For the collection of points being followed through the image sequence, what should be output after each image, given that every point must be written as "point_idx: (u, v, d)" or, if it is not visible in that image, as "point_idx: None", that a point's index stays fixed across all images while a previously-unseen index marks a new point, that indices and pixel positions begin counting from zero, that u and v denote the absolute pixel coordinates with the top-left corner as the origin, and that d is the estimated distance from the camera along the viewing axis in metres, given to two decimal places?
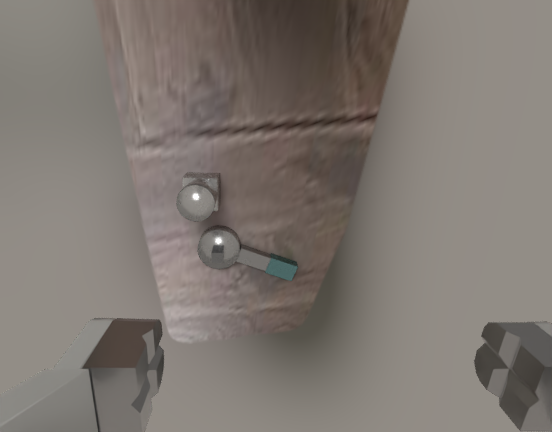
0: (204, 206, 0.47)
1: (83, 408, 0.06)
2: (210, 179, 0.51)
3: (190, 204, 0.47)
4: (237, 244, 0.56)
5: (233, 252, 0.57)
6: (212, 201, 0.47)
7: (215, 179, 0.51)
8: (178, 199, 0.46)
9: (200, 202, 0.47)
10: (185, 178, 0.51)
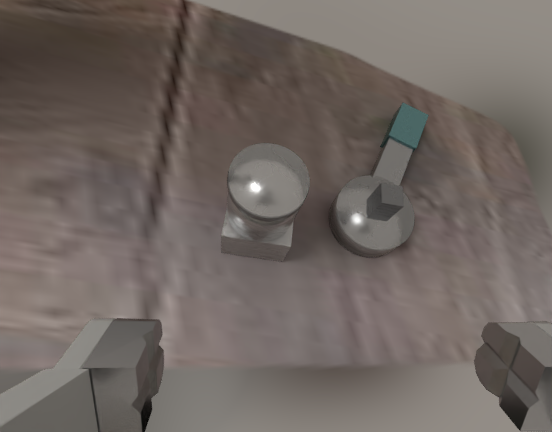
0: (277, 162, 0.22)
1: (83, 408, 0.06)
2: None
3: (270, 186, 0.21)
4: (364, 177, 0.30)
5: None
6: (268, 145, 0.22)
7: None
8: (255, 207, 0.20)
9: (267, 167, 0.22)
10: (224, 230, 0.25)
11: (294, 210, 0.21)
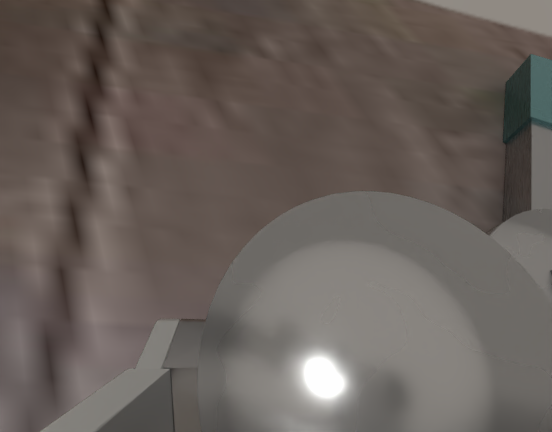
0: (406, 272, 0.05)
1: (164, 407, 0.06)
2: None
3: (414, 422, 0.04)
4: (525, 216, 0.13)
5: None
6: (350, 202, 0.05)
7: None
8: None
9: (374, 307, 0.05)
10: None
11: None
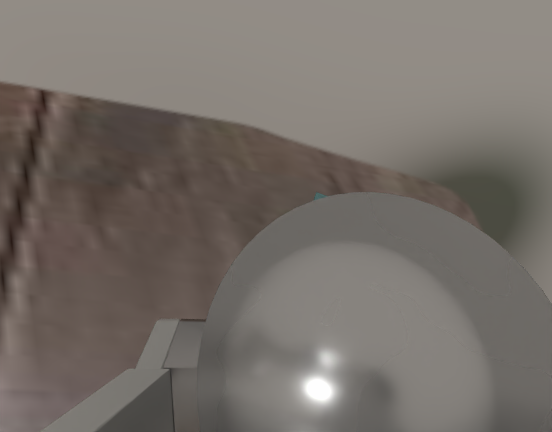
0: (407, 273, 0.05)
1: (164, 407, 0.06)
2: None
3: (415, 424, 0.04)
4: None
5: None
6: (350, 203, 0.05)
7: None
8: None
9: (375, 308, 0.05)
10: None
11: None
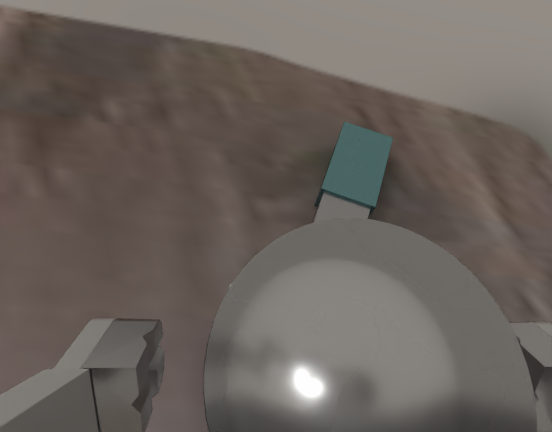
0: (382, 290, 0.06)
1: (83, 408, 0.06)
2: None
3: (384, 417, 0.05)
4: None
5: None
6: (335, 228, 0.06)
7: None
8: None
9: (353, 320, 0.06)
10: None
11: None
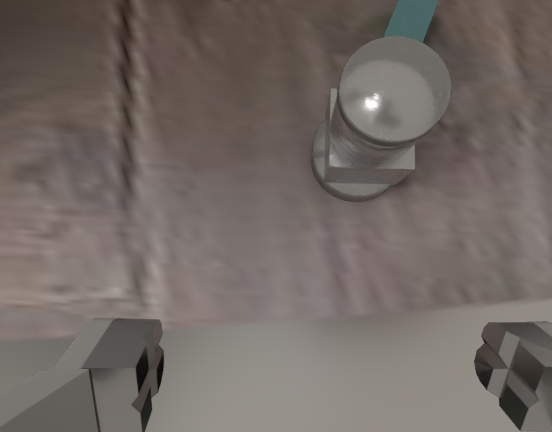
0: (402, 62, 0.16)
1: (83, 408, 0.06)
2: (333, 103, 0.21)
3: (397, 99, 0.16)
4: None
5: None
6: (386, 40, 0.16)
7: (333, 92, 0.21)
8: (382, 131, 0.16)
9: (390, 72, 0.16)
10: (331, 160, 0.21)
11: (432, 126, 0.16)
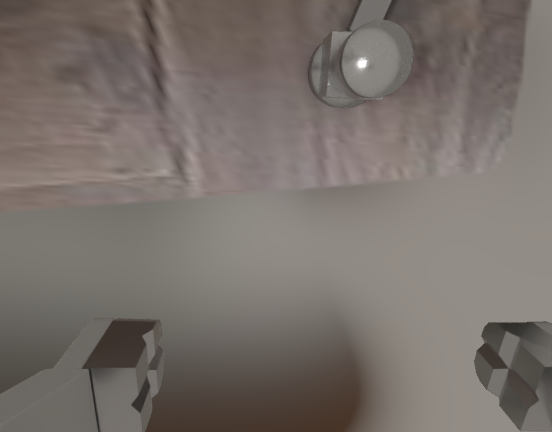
0: (385, 41, 0.24)
1: (83, 408, 0.06)
2: (333, 44, 0.29)
3: (378, 70, 0.25)
4: None
5: None
6: (378, 23, 0.24)
7: (334, 34, 0.28)
8: (366, 92, 0.25)
9: (377, 49, 0.24)
10: (328, 91, 0.30)
11: (396, 88, 0.26)
